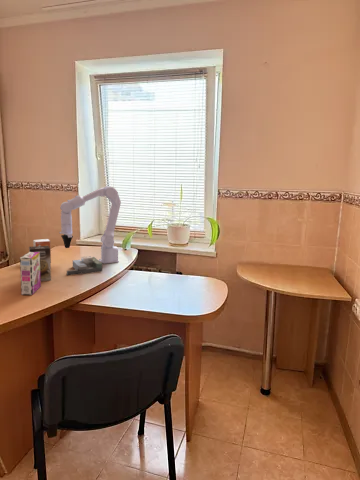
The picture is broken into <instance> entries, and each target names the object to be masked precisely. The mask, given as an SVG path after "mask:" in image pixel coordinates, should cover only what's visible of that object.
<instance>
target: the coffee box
mask: <svg viewBox="0 0 360 480" xmlns="http://www.w3.org/2000/svg"><path fill="white" fill-rule="evenodd" d="M28 252H40V279H41V282H47V281H52V267H51V264H52V260H51V261H50V247H49V246H34V247H33V246H29V247H28Z"/></svg>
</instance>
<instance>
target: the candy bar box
mask: <svg viewBox="0 0 360 480" xmlns="http://www.w3.org/2000/svg"><path fill="white" fill-rule="evenodd" d="M19 270H20V292H21V294H20V295H21V296H33V295H34V294H35V293H37V291H38V290H39V289H40V288H41V287H42V285H41V284H42V283H41V282H42V281H41V279H40V252H29V251H28V252H27V253H25V254H24V255H22V256H20V257H19Z"/></svg>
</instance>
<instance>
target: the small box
mask: <svg viewBox="0 0 360 480" xmlns="http://www.w3.org/2000/svg"><path fill="white" fill-rule="evenodd" d="M32 244H33V246H32V247H34V246H49V247H50V261H51V262H52V253H51V252H52V249H51V248H52V246H51V240H50V239H49V238H44V239H32Z"/></svg>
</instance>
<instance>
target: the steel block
mask: <svg viewBox="0 0 360 480" xmlns="http://www.w3.org/2000/svg"><path fill="white" fill-rule="evenodd" d="M92 257H93V256H91V255H87V256H81V257H80V258H81V259H80V260H81V261H82V262H83V263H84V264H85V265H86V266H87V268H93V258H92Z"/></svg>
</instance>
